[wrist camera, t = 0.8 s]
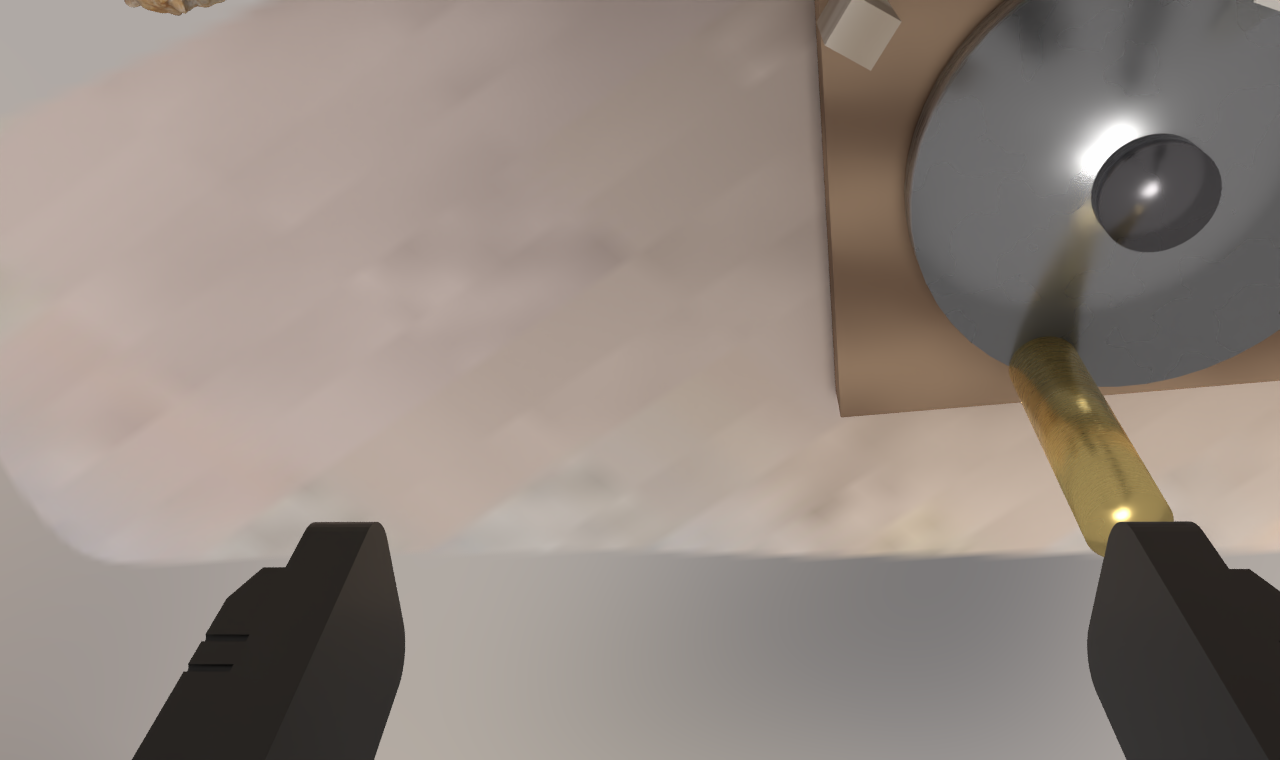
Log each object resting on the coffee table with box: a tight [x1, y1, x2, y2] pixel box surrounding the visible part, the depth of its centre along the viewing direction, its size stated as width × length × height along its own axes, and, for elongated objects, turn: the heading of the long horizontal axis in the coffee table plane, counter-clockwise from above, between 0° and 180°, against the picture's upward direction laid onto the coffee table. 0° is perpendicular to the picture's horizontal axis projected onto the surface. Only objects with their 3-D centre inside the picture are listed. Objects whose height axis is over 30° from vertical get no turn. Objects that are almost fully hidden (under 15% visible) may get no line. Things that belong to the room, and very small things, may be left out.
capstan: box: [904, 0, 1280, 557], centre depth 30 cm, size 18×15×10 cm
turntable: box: [815, 0, 1280, 417], centre depth 34 cm, size 22×20×5 cm
